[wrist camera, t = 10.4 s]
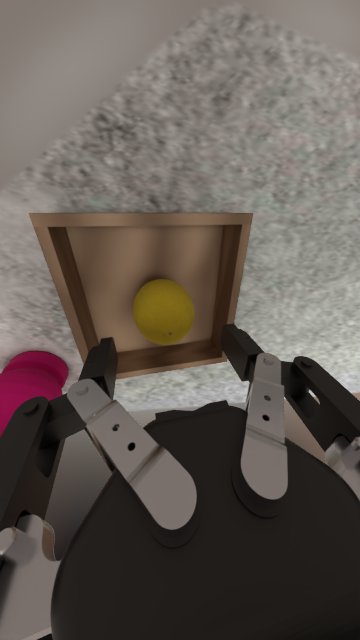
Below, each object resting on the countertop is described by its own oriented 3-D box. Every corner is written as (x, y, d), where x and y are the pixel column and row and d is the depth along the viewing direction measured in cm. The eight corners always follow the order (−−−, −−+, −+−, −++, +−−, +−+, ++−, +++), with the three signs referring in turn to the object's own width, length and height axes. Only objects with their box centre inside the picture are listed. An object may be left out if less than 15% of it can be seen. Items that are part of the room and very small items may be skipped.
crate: (228, 213, 18) (253, 213, 15) (213, 340, 26) (227, 361, 23) (54, 213, 15) (28, 213, 12) (97, 355, 24) (90, 383, 20)
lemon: (123, 282, 19) (117, 318, 12) (172, 262, 19) (194, 285, 12) (146, 324, 22) (151, 372, 15) (189, 306, 22) (213, 345, 15)
